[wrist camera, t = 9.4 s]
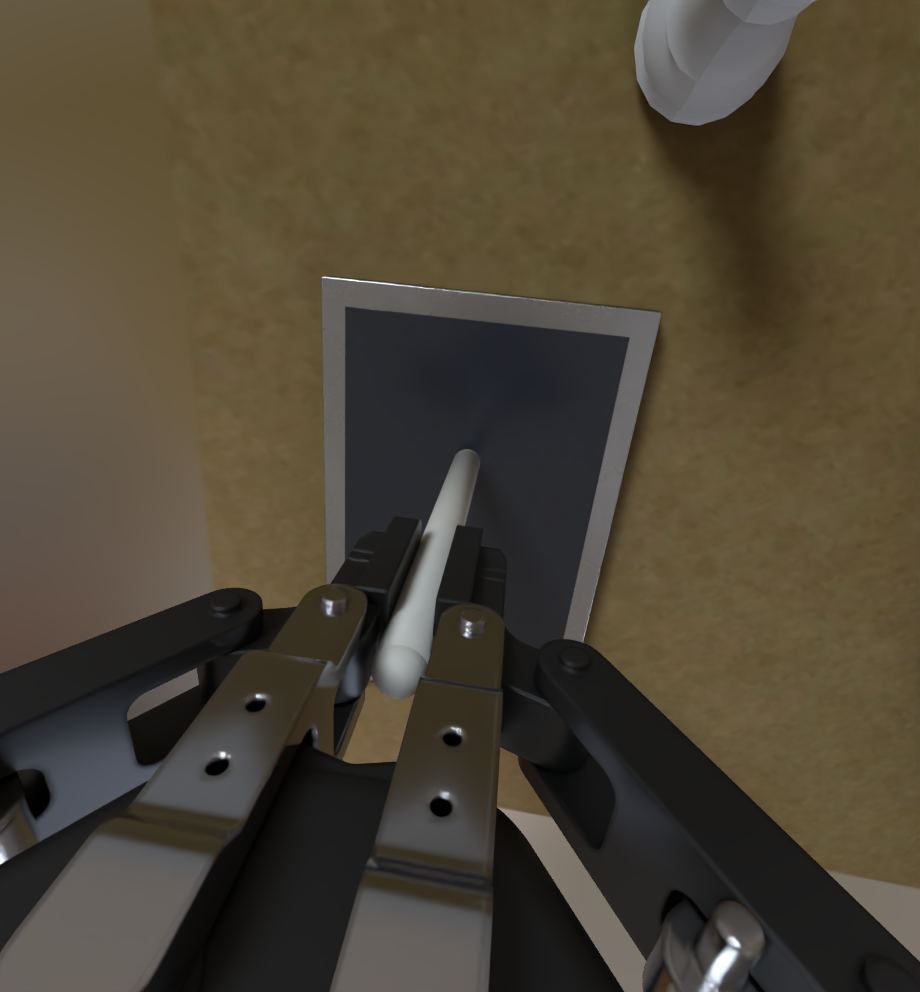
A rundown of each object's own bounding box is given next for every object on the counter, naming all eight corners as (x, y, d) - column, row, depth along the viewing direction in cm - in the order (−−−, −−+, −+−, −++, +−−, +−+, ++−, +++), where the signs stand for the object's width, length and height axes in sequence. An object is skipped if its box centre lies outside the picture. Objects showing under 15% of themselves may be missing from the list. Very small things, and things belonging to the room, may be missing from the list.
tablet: (329, 276, 21) (319, 275, 20) (656, 310, 20) (663, 312, 19) (333, 661, 29) (326, 675, 28) (565, 698, 28) (566, 714, 27)
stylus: (456, 444, 21) (364, 660, 9) (482, 447, 21) (425, 669, 9) (453, 469, 22) (363, 706, 10) (479, 472, 21) (421, 716, 9)
